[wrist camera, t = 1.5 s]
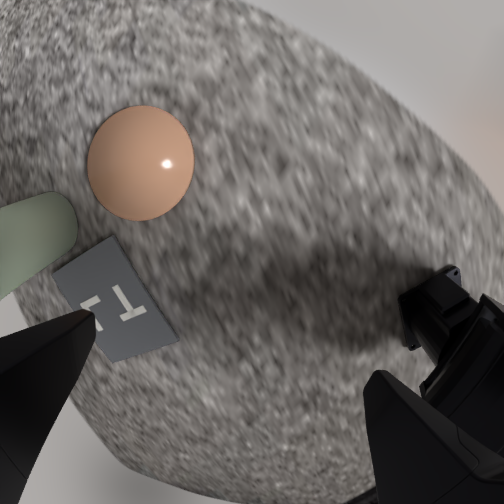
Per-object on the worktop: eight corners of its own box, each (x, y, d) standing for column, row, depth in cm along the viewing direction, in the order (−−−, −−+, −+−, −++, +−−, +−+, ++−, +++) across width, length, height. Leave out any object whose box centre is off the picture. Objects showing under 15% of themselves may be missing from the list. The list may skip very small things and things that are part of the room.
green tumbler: (89, 238, 21) (-16, 313, 9) (50, 265, 21) (-41, 337, 10) (59, 178, 19) (-61, 216, 8) (23, 211, 20) (-79, 259, 8)
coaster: (215, 186, 19) (214, 187, 19) (121, 237, 20) (118, 239, 20) (164, 85, 17) (161, 84, 16) (76, 145, 18) (72, 146, 18)
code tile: (179, 338, 23) (178, 341, 23) (113, 361, 25) (111, 363, 24) (113, 234, 20) (111, 235, 20) (52, 273, 22) (50, 275, 21)
